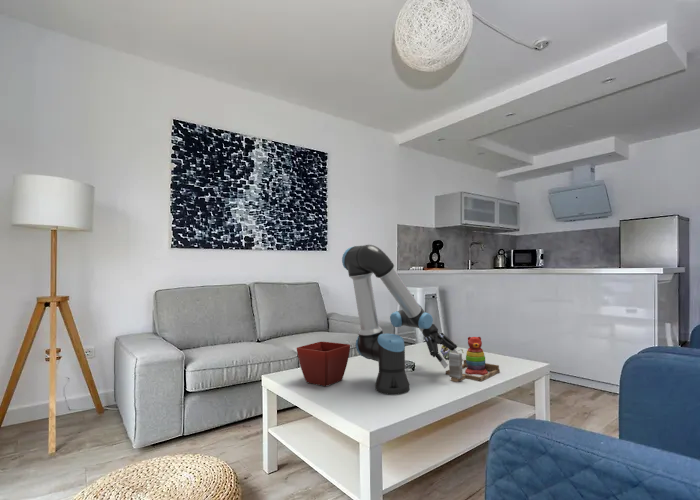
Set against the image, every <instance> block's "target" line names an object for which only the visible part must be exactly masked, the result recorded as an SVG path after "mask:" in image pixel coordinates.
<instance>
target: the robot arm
mask: <svg viewBox="0 0 700 500" xmlns="http://www.w3.org/2000/svg"><path fill="white" fill-rule="evenodd" d="M341 262H342V265H343V268H344V269H345V270H347V273H348V277H349V278H350V279H352V283H353V290H354V295H355V302H356V303H355V304H356V308H357V313H358V314H357V315H358V321H359V326H360V329H359V331H358V332H357V333H358V334H357V339H355V349H356V351H357V353H358V355H360V356H361V357H363V358H365V359H367V360H372V361H375V362H378V373H377V377H376V380H375V384H374V387H375V389H374V390H375V391H376V392H377V393H379V394H384V395H395V396H396V395H402V394H406V393H408V392H410V390H411V387H410V381H409V379H408V376H407V373H406V353H405V352H406V345H405V339H404V338H403V337H402V336H400V335H398V334H395V333H383V332H384V331H383V328H382V327H381V326H380V325H379V320H378V319H379V318H378V315H377V307H376V302H375V295H374V290H373V283H372V275H375V277H376V279H377V278H378V279H380V280H381V282H382V284H384V286H385V287H386V289H387V290H388V292H389V293H390V294H391V296H392V297H393V298H394V300H395V301H396V303H397V304H398V305H399V307H400V308H401V310H396V311H394V312H392V313H391V314H390V316H389V317H390V318H389V320H390V323H391V325H392V326H393V327H394V328H401V327H410V328H416V329H418V330H420V332H421V334H422V335H423V336H424V339H423V340H424V341H425V343H426V346H427V349H428V351H429V355H430V356H431V357H433V358H436V359H437V360H438V362H439V363H440V365H441V366H442V367H443V369H446V368H447V367H449V362H448V361H447V360H446V359H444V357H443V355H442V353H441V352H440V351H439V346H438V345H441V346H442V345H444V346H445V347H447V348H448V349H450V350H451V351H452V352H454V353H460V352H459V351H458V349H457V348H458V345H457V344H456V343H455V342H454V341H453V340H451V339H450V338H448V337H447V336H446V335H445V333H443V332H441V333H439V329H438V327H437V326H436V324H434V319H433V316H432V314H430V313H429V312H425V310H424V309H423V307H422V306H421V305H420V304H419V303H418V302H417V300H416V298H415V297H414V296H413V294H412V293H411V291H410V290H409V289H408V287H407V285H406V284H405V283H404V281H403V280H402V278H401V277H400V275H399V274H398V273H397V270H395V265H394V263H393V260H391V258H390V257H389V256H388V255H387V254H386V252H384V251H383V250H382V249H381V248H380V247H378V246H376V245H372V244H364V245H354V246H351V247H349V248H346V249H345V251H344V252H343V254H342V258H341ZM452 341H453V342H452ZM464 360H465V359H464V357H463V356H462V362H464Z"/></svg>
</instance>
